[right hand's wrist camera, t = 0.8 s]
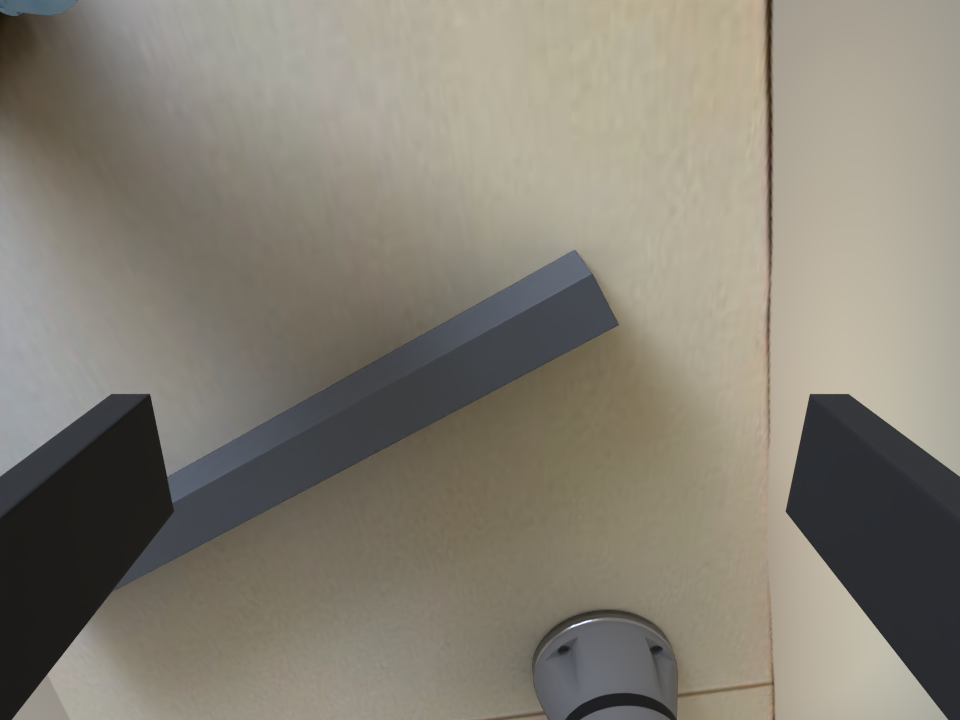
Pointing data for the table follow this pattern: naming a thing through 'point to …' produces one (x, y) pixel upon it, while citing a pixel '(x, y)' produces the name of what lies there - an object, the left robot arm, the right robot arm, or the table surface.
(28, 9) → the left robot arm
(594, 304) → the post
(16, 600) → the right robot arm
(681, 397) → the table surface
